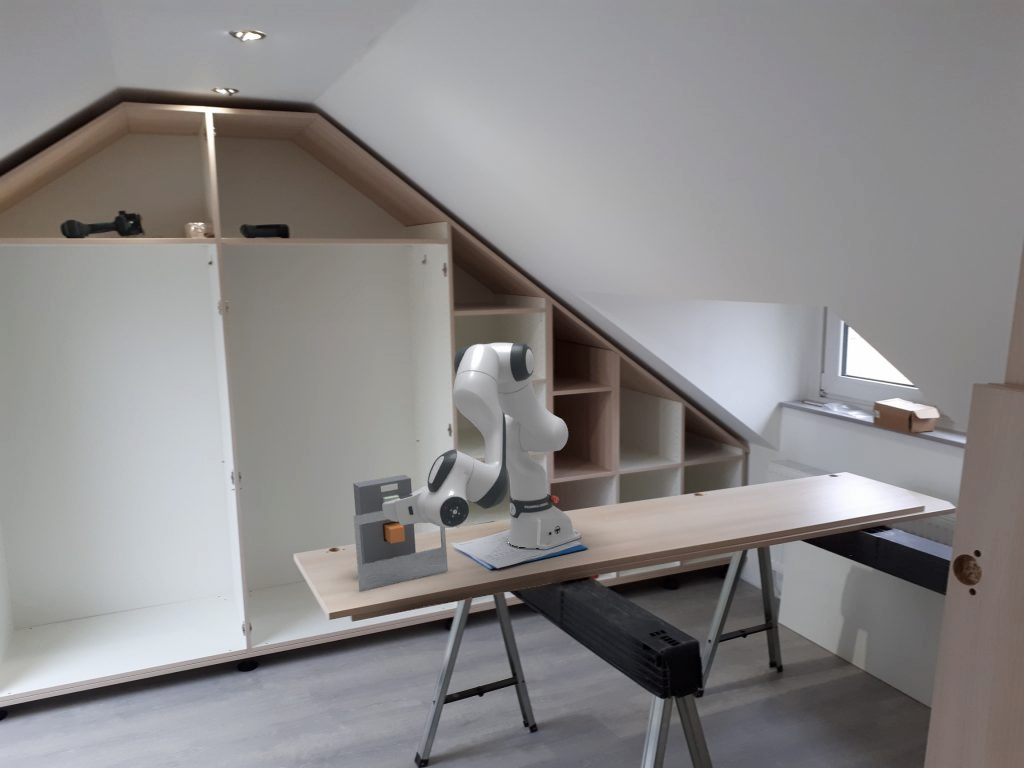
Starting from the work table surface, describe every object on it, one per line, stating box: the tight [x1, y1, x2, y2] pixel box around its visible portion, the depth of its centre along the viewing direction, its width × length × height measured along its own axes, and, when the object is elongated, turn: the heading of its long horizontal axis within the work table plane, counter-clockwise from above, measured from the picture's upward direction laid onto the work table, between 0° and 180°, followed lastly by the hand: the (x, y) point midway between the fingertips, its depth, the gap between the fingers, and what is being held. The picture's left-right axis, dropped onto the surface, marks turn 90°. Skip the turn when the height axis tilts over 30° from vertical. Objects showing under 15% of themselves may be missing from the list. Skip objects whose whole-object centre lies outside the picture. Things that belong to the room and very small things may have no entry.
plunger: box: [383, 521, 405, 544], centre depth 233 cm, size 7×4×4 cm, turn 28°
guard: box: [353, 510, 449, 592], centre depth 231 cm, size 8×25×20 cm, turn 118°
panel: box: [352, 474, 417, 564], centre depth 235 cm, size 7×15×26 cm, turn 118°
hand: (414, 497), depth 218 cm, fingers closed
